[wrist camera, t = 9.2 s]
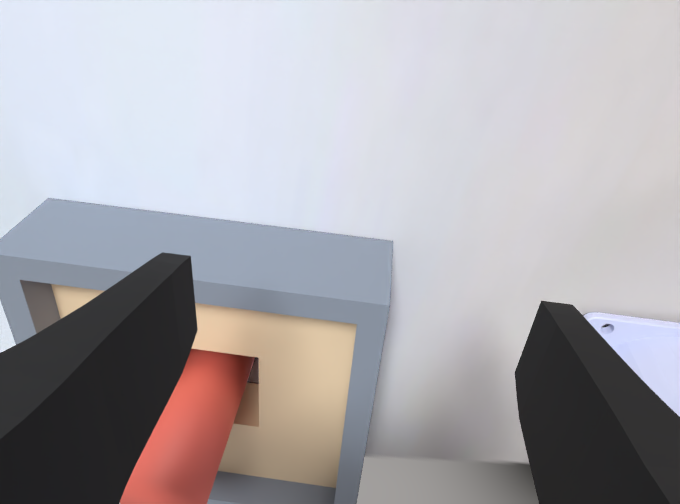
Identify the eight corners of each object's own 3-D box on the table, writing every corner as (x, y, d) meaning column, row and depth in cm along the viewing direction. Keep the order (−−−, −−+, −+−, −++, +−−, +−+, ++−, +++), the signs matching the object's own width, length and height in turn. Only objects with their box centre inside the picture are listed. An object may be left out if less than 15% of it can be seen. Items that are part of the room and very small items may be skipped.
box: (392, 241, 21) (389, 305, 18) (358, 459, 29) (351, 531, 26) (48, 198, 22) (-16, 252, 19) (105, 422, 30) (66, 489, 26)
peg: (256, 326, 25) (200, 487, 18) (256, 373, 26) (204, 535, 20) (191, 317, 25) (112, 473, 18) (195, 364, 26) (124, 522, 20)
